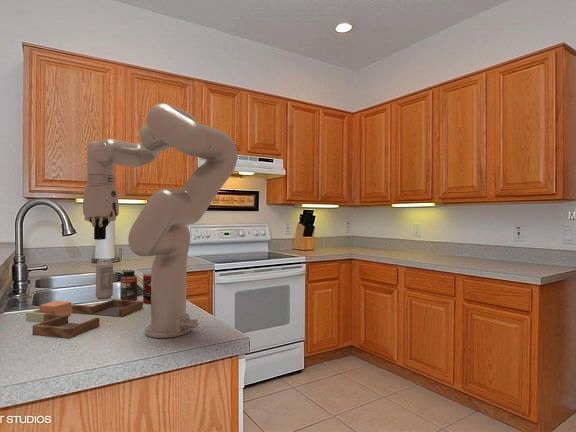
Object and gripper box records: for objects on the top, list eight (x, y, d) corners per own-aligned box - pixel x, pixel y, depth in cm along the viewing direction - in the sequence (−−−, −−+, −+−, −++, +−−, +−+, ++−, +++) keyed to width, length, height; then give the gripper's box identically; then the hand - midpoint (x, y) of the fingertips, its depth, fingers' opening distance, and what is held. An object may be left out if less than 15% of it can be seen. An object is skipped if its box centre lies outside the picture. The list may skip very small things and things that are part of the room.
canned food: (139, 301, 138) (140, 272, 138) (160, 298, 144) (160, 270, 144) (147, 305, 133) (147, 275, 133) (168, 302, 138) (169, 273, 138)
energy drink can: (110, 295, 147) (110, 258, 147) (114, 298, 143) (115, 260, 143) (93, 297, 143) (94, 259, 143) (98, 300, 139) (98, 261, 139)
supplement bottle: (132, 297, 145) (132, 269, 145) (140, 299, 141) (140, 270, 141) (117, 300, 140) (117, 270, 140) (125, 302, 137) (125, 272, 137)
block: (71, 315, 119) (71, 302, 119) (55, 321, 113) (55, 306, 113) (56, 314, 120) (56, 300, 120) (39, 319, 114) (39, 305, 114)
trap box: (142, 308, 128) (142, 301, 128) (69, 338, 97) (69, 329, 97) (81, 303, 134) (81, 297, 134) (-7, 330, 103) (-7, 321, 103)
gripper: (128, 182, 118) (128, 239, 118) (89, 182, 121) (88, 238, 121) (112, 180, 110) (112, 240, 110) (71, 180, 114) (70, 239, 114)
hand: (99, 239), depth 116 cm, fingers closed
